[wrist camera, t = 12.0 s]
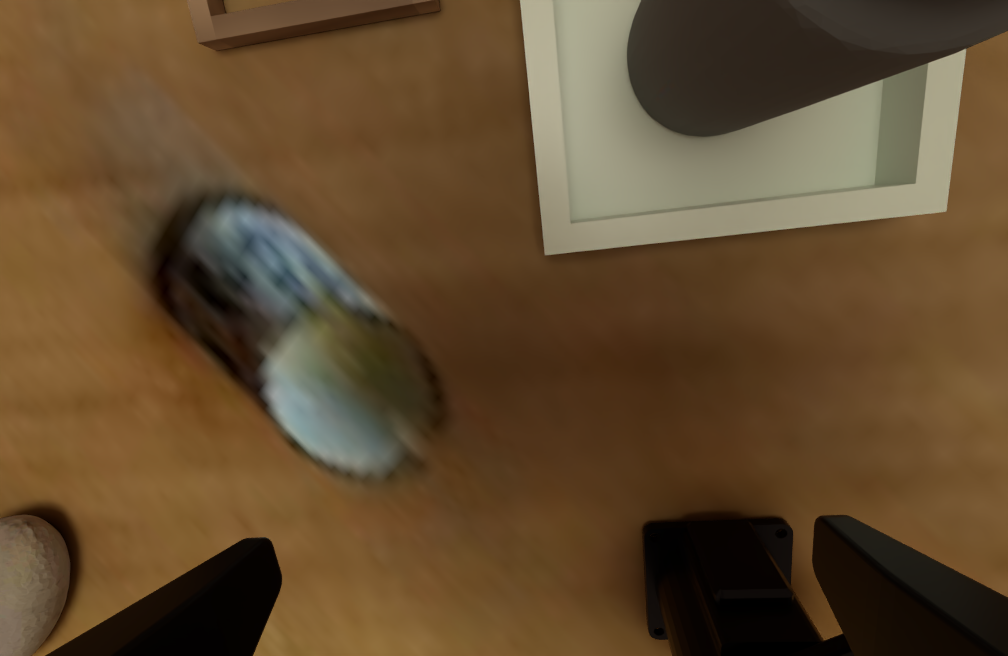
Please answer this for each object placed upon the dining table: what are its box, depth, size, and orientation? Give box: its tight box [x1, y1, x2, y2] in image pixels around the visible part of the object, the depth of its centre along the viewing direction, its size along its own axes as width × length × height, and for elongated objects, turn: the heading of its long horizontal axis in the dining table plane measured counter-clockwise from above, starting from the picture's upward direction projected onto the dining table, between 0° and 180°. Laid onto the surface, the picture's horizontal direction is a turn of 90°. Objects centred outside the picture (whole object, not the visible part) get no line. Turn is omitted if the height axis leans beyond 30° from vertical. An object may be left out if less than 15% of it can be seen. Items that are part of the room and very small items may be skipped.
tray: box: [520, 0, 966, 255], centre depth 16 cm, size 13×13×2 cm
